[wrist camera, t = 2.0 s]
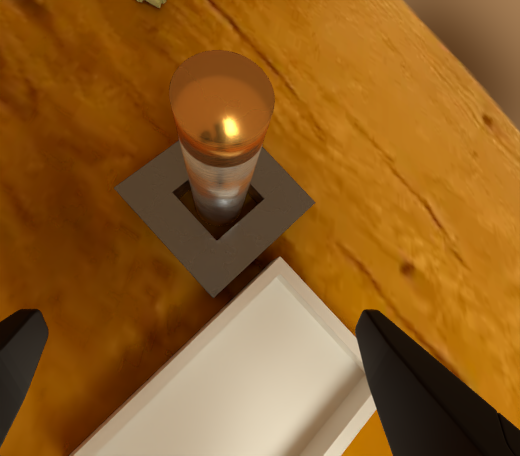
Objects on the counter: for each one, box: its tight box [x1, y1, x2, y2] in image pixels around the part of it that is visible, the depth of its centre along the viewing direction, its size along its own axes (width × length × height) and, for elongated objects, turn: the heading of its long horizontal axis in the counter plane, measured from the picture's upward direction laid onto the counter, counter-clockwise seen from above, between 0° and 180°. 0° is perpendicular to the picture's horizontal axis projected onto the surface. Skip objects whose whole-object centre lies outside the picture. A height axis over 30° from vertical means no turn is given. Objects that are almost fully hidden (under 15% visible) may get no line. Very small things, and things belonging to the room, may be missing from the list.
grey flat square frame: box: [114, 141, 315, 298], centre depth 22 cm, size 10×10×2 cm
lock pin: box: [169, 50, 275, 226], centre depth 16 cm, size 4×4×13 cm
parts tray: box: [69, 257, 376, 456], centre depth 18 cm, size 11×18×3 cm, turn 133°
